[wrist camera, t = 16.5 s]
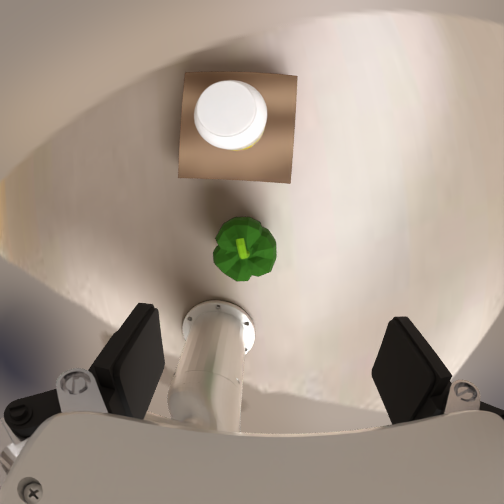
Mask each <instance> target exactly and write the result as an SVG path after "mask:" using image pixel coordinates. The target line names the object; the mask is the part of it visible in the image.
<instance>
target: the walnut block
mask: <svg viewBox="0 0 504 504" xmlns="http://www.w3.org/2000/svg"><path fill="white" fill-rule="evenodd" d="M227 80H236V81H241V82H244V83H247V84H249V85H251V86H252V87H254V88H255V89H256V90H257V91H258V92H259V93H260V94H261V95H262V97H263V99H264V101H265V103H266V107H267V121H266V125H265V129H264V132H263V135H262V137H261V138H260V140H259V141H258V142H257V143H256V144H255V145H253V146H252V147H250V148H248V149H245V150H241V151H232V150H227V149H222V148H218V147H215V146H213V145H211V144H210V143H208V142H207V141H206V140H204V139H203V137H202V136H201V135H200V134H199V132H198V130H197V128H196V125H195V121H194V111H195V106H196V103H197V101H198V99H199V98H200V96H201V94H202V93H203V92H204V90H205V89H207V88H208V87H209V86H211V85H212V84H214V83H217V82H220V81H227ZM296 95H297V76H293V75H283V74H272V73H257V72H186V73H185V78H184V89H183V100H182V112H181V127H180V144H179V168H178V178H201V179H227V180H246V181H262V182H275V183H288V184H290V183H291V171H292V158H293V144H294V129H295V113H296Z"/></svg>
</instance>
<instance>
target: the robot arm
mask: <svg viewBox="0 0 504 504" xmlns="http://www.w3.org/2000/svg"><path fill="white" fill-rule="evenodd" d="M218 305H220V306H218ZM182 331H183V336H184V339H185V341H186V343H185V345H184V348H183V351H182V354H181V356H180V359H179V362H178V365H177V367H176V370H175V373H174V376H173V379H172V382H171V384H170V387H169V391H168V395H167V403H168V409H169V412H170V415H171V418H172V419H169V418H166V417H163V416H160V415H157V414H154V413H152V412H149V411H147V410H148V407H149V405H150V402H151V399H152V397H153V394H154V392H155V389H156V387H157V384H158V382H159V379H160V377H161V374H162V372H163V369H164V365H165V360H164V353H163V346H162V338H161V330H160V322H159V312H158V309H157V308H154V306H153V304H146V303H138V304H137V306H136V307H135V308H134V310H133V311H132V312H131V314H130V315H129V316H128V318H127V319H126V320H125V322H124V323H123V325H122V326H121V327H120V329H119V330H118V331H117V332H115V333H114V334H113V336H112V337H111V338H110V340H109V341H108V343H107V344H106V345H105V347H104V348H103V350H102V351H101V353H100V354H99V355H98V357H97V358H96V360H95V361H94V363H93V364H92V365H91V367H90V369H89V370H88V371H87V370H85V369H80V368H76V369H70V370H67V371H65V372H64V373H62V374H61V375H60V376H59V377H58V379H57V382H56V389H54V390H50V391H47V392H44V393H40V394H36V395H33V396H29V397H25V398H21V399H17V400H15V401H13V402H11V403H10V404H9V405H8V406H7V407H6V409H5V412H4V417H3V418H0V504H504V410H501V409H499V408H496V407H494V406H491V405H488V404H486V403H484V402H481V401H480V391H479V389H478V388H477V387H476V386H475V385H474V384H473V383H471V382H469V381H467V380H456V381H455V382H453V383H451V382H450V379H451V377H452V375H451V373H450V372H449V370H448V369H447V368H446V366H445V365H444V364H443V362H442V361H441V359H440V358H439V357H438V355H437V354H436V353H435V351H434V350H433V349H432V347H431V346H430V345H429V344H428V342H427V341H426V340H425V338H424V337H423V336H422V334H421V333H420V332H419V331H418V329H417V328H416V327H415V326H414V324H413V323H412V322H411V321H410V319H409V318H408V317H394V318H393V319H392V320H391V321H389V323H388V326H387V329H386V332H385V335H384V338H383V341H382V344H381V347H380V350H379V352H378V355H377V358H376V360H375V363H374V366H373V368H372V378H373V380H374V382H375V385H376V387H377V389H378V392H379V394H380V396H381V399H382V401H383V403H384V406H385V408H386V410H387V413H388V415H389V418H390V420H391V422H392V425H387V426H381V427H374V428H366V429H358V430H349V431H338V432H326V433H325V432H324V433H303V434H263V433H241V431H240V415H241V399H242V385H243V371H244V357H245V354H246V353H248V352H249V350H250V349H251V348H252V346H253V344H254V340H255V327H254V324H253V322H252V320H251V318H250V317H249V315H248V314H247V313H246V312H245V311H244V310H243V309H241V308H240V307H238V306H236V305H234V304H232V303H229V302H226V301H219V300H211V301H206V302H202V303H200V304H197V305H196V306H194V307H193V308H192V309H191V310H190V311H189V312H188V313H187V315H186V317H185V319H184V322H183V327H182Z"/></svg>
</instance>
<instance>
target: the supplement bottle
mask: <svg viewBox="0 0 504 504" xmlns="http://www.w3.org/2000/svg"><path fill="white" fill-rule="evenodd" d="M194 121H195V125H196V128H197V130H198V132H199V134H200V135H201V136H202V137H203V139H204V140H206V141H207V142H208V143H210V144H211V145H213V146H215V147H218V148H222V149H227V150H232V151H241V150H245V149H248V148H250V147H252V146H253V145H255V144H256V143H257V142H258V141H259V140H260V138H261V137H262V135H263V132H264V129H265V125H266V121H267V107H266V103H265V101H264V99H263V97H262V95H261V94H260V93H259V92H258V91H257V90H256V89H255V88H254V87H252V86H251V85H249V84H247V83H244V82H241V81H236V80H227V81H220V82H217V83H214V84H212V85H211V86H209V87H208V88H207V89H205V90H204V92H203V93H202V94H201V96H200V98H199V99H198V101H197V103H196V106H195V111H194Z"/></svg>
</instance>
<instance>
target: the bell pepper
mask: <svg viewBox="0 0 504 504" xmlns="http://www.w3.org/2000/svg"><path fill="white" fill-rule="evenodd" d="M215 239H216V241H217V243H218V246H217V247H216V248H215V250H214V252H213V259H214V263H215V265H216V266H217V267H218V268H219V269H220V270H221V271H222V272H223V273H224V274H226V275H227V276H229V277H231V278H232V279H234V280H235V281H248V280H249V279H250V277H251V276H252V275H254V276H261V275H264V274H266V273H269V272H271V270H272V268H273V265H274V263H275V260H276V241H275V239H274V237H273V236H272V234H271V233H270V231H269V230H268V229H266V228H264V227H262V226H261V223H260V222H259V221H257V220H255V219H253V218H251V217H234V218H232V219H231V220H229V221H227V222H226V223H224V224H223V226H222V227H221V229H220V231H219V233H218V234H217V236H216V238H215Z"/></svg>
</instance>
